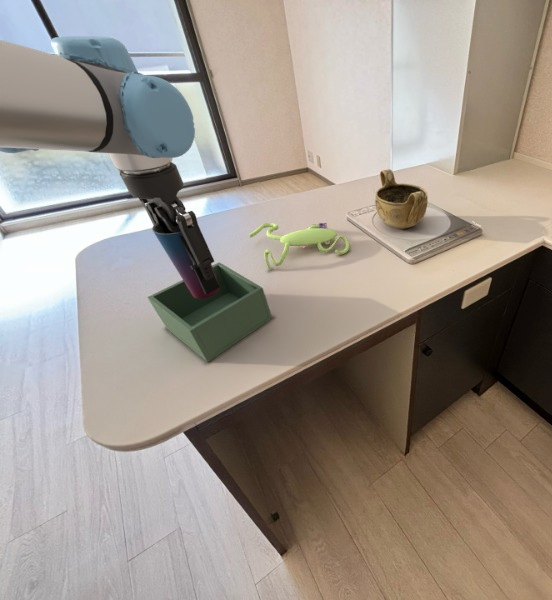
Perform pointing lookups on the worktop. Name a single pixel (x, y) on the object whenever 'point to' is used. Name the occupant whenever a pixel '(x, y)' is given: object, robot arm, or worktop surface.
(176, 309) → the bin
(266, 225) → the figurine
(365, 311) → the worktop surface
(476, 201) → the worktop surface
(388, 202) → the ceramic bowl
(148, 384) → the worktop surface
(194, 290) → the cup
